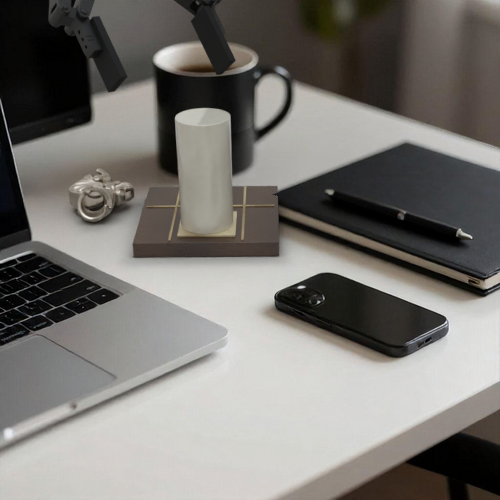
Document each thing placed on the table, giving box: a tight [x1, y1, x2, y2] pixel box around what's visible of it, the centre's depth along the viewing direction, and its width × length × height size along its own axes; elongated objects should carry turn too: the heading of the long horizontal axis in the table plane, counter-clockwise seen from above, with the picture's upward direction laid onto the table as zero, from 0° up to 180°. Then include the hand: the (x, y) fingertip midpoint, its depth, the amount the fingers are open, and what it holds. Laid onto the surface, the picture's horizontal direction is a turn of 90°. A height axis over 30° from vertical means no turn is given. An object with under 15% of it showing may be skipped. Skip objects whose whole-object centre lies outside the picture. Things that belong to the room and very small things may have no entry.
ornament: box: [68, 167, 135, 223], centre depth 98 cm, size 8×7×4 cm
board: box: [132, 185, 280, 258], centre depth 95 cm, size 14×14×2 cm
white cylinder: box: [174, 107, 233, 234], centre depth 89 cm, size 5×5×11 cm
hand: (174, 76), depth 90 cm, fingers open, 13 cm apart
